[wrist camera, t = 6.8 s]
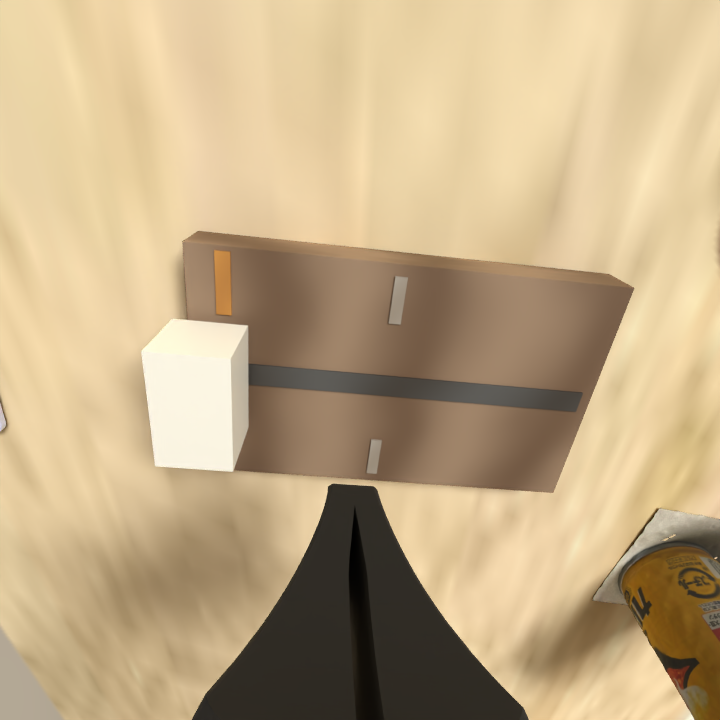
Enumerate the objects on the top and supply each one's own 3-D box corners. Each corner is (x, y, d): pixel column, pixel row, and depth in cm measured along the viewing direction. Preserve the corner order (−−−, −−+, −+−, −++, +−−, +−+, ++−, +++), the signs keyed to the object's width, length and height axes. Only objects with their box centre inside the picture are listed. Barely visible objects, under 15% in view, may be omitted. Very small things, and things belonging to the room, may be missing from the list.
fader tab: (180, 422, 20) (155, 466, 18) (172, 318, 18) (141, 351, 15) (248, 427, 20) (233, 471, 18) (248, 325, 18) (230, 358, 16)
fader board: (209, 442, 24) (196, 469, 22) (198, 231, 19) (181, 242, 17) (538, 467, 25) (554, 494, 23) (608, 274, 20) (635, 288, 18)
